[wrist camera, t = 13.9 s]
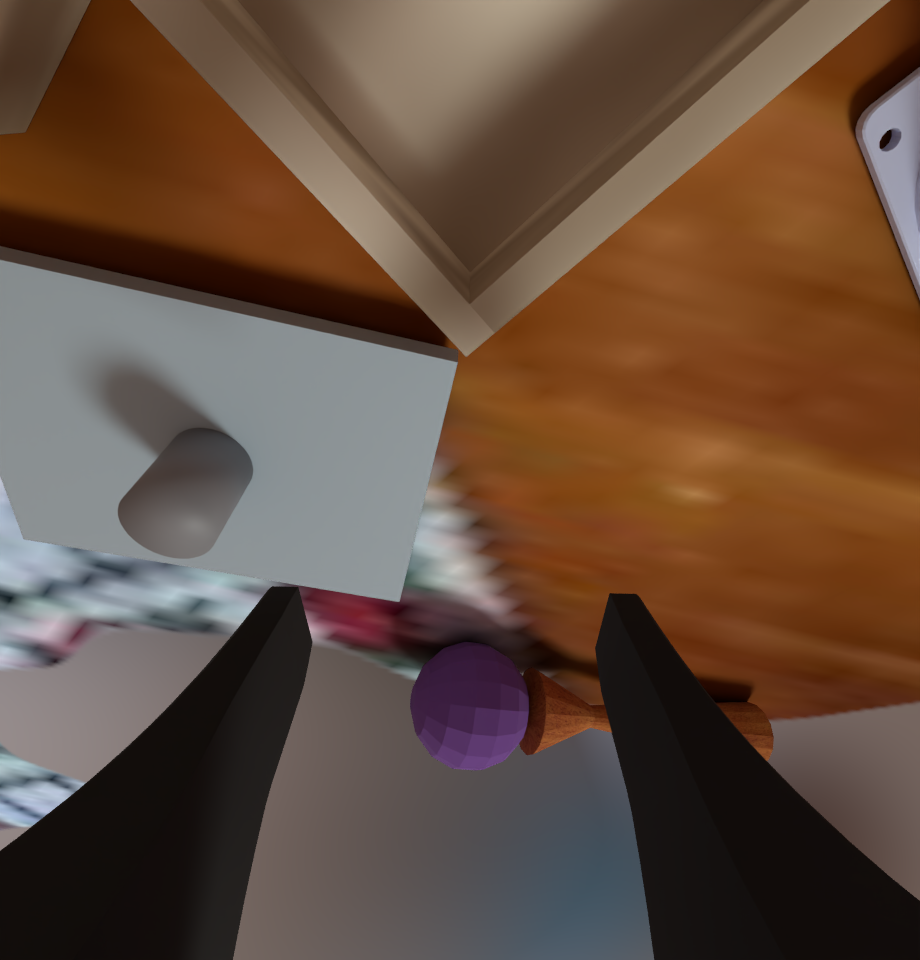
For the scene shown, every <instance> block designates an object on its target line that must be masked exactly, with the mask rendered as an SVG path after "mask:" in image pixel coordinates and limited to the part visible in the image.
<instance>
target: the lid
mask: <svg viewBox="0 0 920 960" xmlns="http://www.w3.org/2000/svg"><path fill="white" fill-rule="evenodd" d="M457 363H458V350H455V349H451V348H447V347H442V346H438V345H433V344H429V343H425V342H420V341H416V340H411V339H407V338H403V337H398V336H394V335H389V334H385V333H381V332H376V331H372V330H367V329H363V328H359V327H354V326H350V325H345V324H341V323H337V322H332V321H328V320H323V319H319V318H315V317H310V316H306V315H301V314H297V313H293V312H288V311H284V310H279V309H275V308H271V307H266V306H262V305H257V304H253V303H249V302H244V301H240V300H235V299H231V298H227V297H222V296H218V295H213V294H209V293H205V292H200V291H196V290H191V289H187V288H182V287H178V286H174V285H169V284H165V283H160V282H156V281H152V280H147V279H143V278H138V277H134V276H130V275H125V274H121V273H116V272H112V271H108V270H103V269H99V268H94V267H90V266H86V265H81V264H77V263H72V262H68V261H64V260H59V259H55V258H50V257H46V256H42V255H37V254H33V253H28V252H24V251H20V250H15V249H11V248H6V247H2V246H0V476H1V479H2V482H3V484H4V487H5V490H6V493H7V495H8V498H9V501H10V503H11V506H12V509H13V512H14V514H15V517H16V520H17V522H18V525H19V528H20V531H21V533H22V536H23V539H25V540H31V541H37V542H43V543H49V544H55V545H61V546H67V547H73V548H79V549H85V550H91V551H97V552H103V553H109V554H115V555H121V556H127V557H133V558H139V559H145V560H151V561H157V562H163V563H169V564H175V565H181V566H187V567H193V568H199V569H205V570H211V571H217V572H223V573H229V574H235V575H241V576H247V577H253V578H259V579H265V580H271V581H277V582H283V583H289V584H295V585H301V586H307V587H313V588H319V589H325V590H331V591H337V592H343V593H349V594H355V595H361V596H367V597H373V598H379V599H385V600H391V601H397V602H399V601H400V597H401V593H402V589H403V585H404V581H405V577H406V573H407V568H408V564H409V560H410V556H411V552H412V548H413V544H414V540H415V536H416V531H417V527H418V523H419V519H420V515H421V511H422V507H423V503H424V499H425V494H426V490H427V486H428V482H429V478H430V474H431V470H432V466H433V462H434V457H435V453H436V449H437V445H438V441H439V437H440V433H441V429H442V424H443V420H444V416H445V412H446V408H447V404H448V400H449V396H450V392H451V387H452V383H453V379H454V375H455V371H456V367H457Z"/></svg>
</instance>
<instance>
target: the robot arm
mask: <svg viewBox="0 0 920 960" xmlns="http://www.w3.org/2000/svg"><path fill="white" fill-rule="evenodd" d="M888 130H891V131H892V137H891V139H890V142H889V143H888V144H887V145H886V146H885V147H884V148H882V149H880V148H879V142H880V140H881V138H882V136H883V135H884V134H885V133H886V132H887V131H888ZM855 131H856V138H857V141H858V143H859V146H860V148H861V151H862V153H863V156H864V158H865V161H866V164H867V166H868V169H869V171H870V174H871V176H872V179H873V182H874V184H875V187H876V189H877V192H878V194H879V197H880V199H881V202H882V205H883V207H884V210H885V212H886V215H887V217H888V220H889V222H890V225H891V228H892V230H893V233H894V235H895V238H896V240H897V243H898V246H899V248H900V251H901V253H902V256H903V258H904V261H905V263H906V266H907V269H908V271H909V274H910V276H911V279H912V281H913V284H914V287H915V289H916V292H917V294H918V297H919V299H920V67H919V68H917V69H916V70H915V71H914V72H912V73H911V74H910V75H908V76H907V77H906V78H905V79H903V80H902V81H901V82H899V83H898V84H897V85H896V86H894V87H893V88H892V89H890V90H889V91H888V92H886V93H885V94H884V95H883V96H881V97H880V98H879V99H877V100H876V101H875V102H874V103H872V104H871V105H870V106H869V107H868V108H867V109H866V110H865V111H864V112H863V113H862V115H861V116H860V118H859V120H858V122H857V126H856V130H855ZM311 647H312V638H311V634H310V631H309V627H308V623H307V619H306V615H305V611H304V607H303V604H302V600H301V596H300V592H299V588H298V587H274V586H272V587H271V588H270V589H269V590H268V591H267V592H266V593H265V595H264V596H263V597H262V599H261V600H260V601H259V602H258V604H257V605H256V606H255V608H254V609H253V610H252V611H251V613H250V614H249V615H248V616H247V618H246V619H245V620H244V621H243V623H242V624H241V625H240V626H239V628H238V629H237V630H236V631H235V632H234V634H233V635H232V636H231V637H230V639H229V640H228V641H227V642H226V643H225V645H224V646H223V647H222V648H221V649H220V650H219V652H218V653H217V654H216V655H215V656H214V657H213V659H212V660H211V661H210V662H209V663H208V664H207V666H206V667H205V668H204V669H203V670H202V671H201V672H200V673H199V675H198V676H197V677H196V678H195V679H194V680H193V681H192V682H191V683H190V684H189V685H188V686H187V687H186V689H185V690H184V691H183V692H182V693H181V694H180V695H179V696H178V697H177V698H176V699H175V700H174V702H173V703H172V704H171V705H170V706H169V707H168V708H167V709H166V710H165V711H164V712H163V713H162V714H161V715H160V716H159V717H158V718H157V719H156V720H155V721H154V722H153V723H152V724H151V725H150V726H149V727H148V728H147V729H146V730H145V731H143V732H142V733H141V734H140V735H139V736H138V737H137V738H136V739H135V740H134V741H133V742H132V743H131V744H130V745H129V746H128V747H126V749H124V750H123V751H122V752H121V753H120V754H119V755H118V756H116V757H115V758H114V759H113V760H112V761H111V762H110V763H109V764H107V765H106V766H105V767H104V768H103V769H102V770H101V771H100V772H99V773H97V774H96V775H95V776H94V777H93V778H92V779H90V780H89V781H88V782H87V783H86V784H84V785H83V786H82V787H81V788H80V789H79V790H77V791H76V792H75V793H74V794H72V795H71V796H70V797H69V798H68V799H66V800H65V801H64V802H62V803H61V804H60V805H59V806H57V807H56V808H55V809H54V810H52V811H51V812H50V813H48V814H47V815H46V816H45V817H43V818H42V819H41V820H40V821H38V822H37V823H36V824H35V825H33V826H32V827H31V828H29V829H28V830H27V831H26V832H25V833H23V834H22V835H21V836H19V837H18V838H17V839H15V840H14V841H13V842H11V843H10V844H9V845H7V846H6V847H5V848H3V849H2V850H1V851H0V960H233V956H234V951H235V945H236V940H237V934H238V930H239V925H240V920H241V914H242V910H243V904H244V899H245V895H246V890H247V885H248V881H249V876H250V872H251V867H252V862H253V858H254V853H255V848H256V844H257V840H258V836H259V831H260V827H261V822H262V818H263V814H264V810H265V805H266V802H267V798H268V794H269V791H270V788H271V784H272V781H273V778H274V775H275V772H276V769H277V766H278V763H279V760H280V757H281V754H282V751H283V748H284V744H285V741H286V738H287V735H288V732H289V729H290V726H291V723H292V720H293V717H294V714H295V711H296V708H297V705H298V702H299V699H300V695H301V692H302V689H303V686H304V682H305V677H306V672H307V668H308V663H309V657H310V652H311ZM595 650H596V657H597V665H598V672H599V679H600V686H601V692H602V696H603V700H604V704H605V708H606V712H607V716H608V720H609V724H610V728H611V731H612V735H613V739H614V743H615V747H616V750H617V754H618V758H619V762H620V766H621V770H622V773H623V777H624V781H625V785H626V789H627V793H628V798H629V802H630V806H631V811H632V816H633V822H634V828H635V834H636V840H637V846H638V852H639V858H640V864H641V870H642V877H643V884H644V890H645V896H646V903H647V909H648V917H649V924H650V932H651V939H652V946H653V953H654V960H920V901H919V900H918V899H917V898H915V897H914V896H913V895H912V894H910V893H909V892H908V891H907V890H905V889H904V888H903V887H902V886H900V885H899V884H898V883H897V882H895V881H894V880H893V879H892V878H891V877H890V876H888V875H887V874H886V873H885V872H884V871H883V870H881V869H880V868H879V867H878V866H877V865H876V864H875V863H873V862H872V861H871V860H870V859H869V858H868V857H867V856H865V855H864V854H863V853H862V852H861V851H860V850H858V849H857V848H856V847H855V846H854V845H852V843H850V842H849V841H848V840H847V839H846V838H845V837H844V836H843V835H842V834H841V833H840V832H839V831H838V830H837V829H836V828H835V827H833V826H832V825H831V824H830V823H829V822H828V821H827V820H826V819H825V818H824V817H823V816H822V815H821V814H820V813H818V812H817V811H816V810H815V809H814V808H813V807H812V806H811V805H810V804H809V803H808V802H807V801H806V800H805V799H804V798H803V797H801V796H800V795H799V794H798V793H797V792H796V791H795V790H794V789H793V788H792V787H791V786H790V785H789V784H788V783H787V781H786V780H784V778H782V776H781V775H780V774H779V773H778V772H777V771H776V770H775V769H774V768H773V767H772V766H771V765H770V764H769V763H768V762H767V761H766V760H765V759H764V758H763V756H762V755H761V754H760V753H759V752H758V751H757V750H756V749H755V748H754V747H753V746H752V745H751V744H750V742H749V741H748V740H747V739H746V738H745V737H744V736H743V735H742V733H741V732H740V731H739V730H738V729H737V728H736V726H735V725H734V724H733V723H732V722H731V721H730V719H729V718H728V717H727V716H726V715H725V713H724V712H723V711H722V710H721V709H720V707H719V706H718V705H717V704H716V703H715V701H714V700H713V699H712V698H711V696H710V695H709V694H708V693H707V691H706V690H705V689H704V688H703V686H702V685H701V684H700V682H699V681H698V680H697V678H696V677H695V676H694V674H693V673H692V672H691V670H690V669H689V668H688V666H687V665H686V664H685V663H684V661H683V660H682V658H681V657H680V656H679V654H678V653H677V652H676V650H675V649H674V647H673V646H672V645H671V643H670V642H669V640H668V639H667V637H666V636H665V635H664V633H663V632H662V630H661V629H660V627H659V626H658V624H657V623H656V621H655V620H654V618H653V617H652V615H651V614H650V612H649V611H648V609H647V608H646V606H645V605H644V603H643V602H642V600H641V599H640V597H639V596H638V595H637V594H613V593H610V594H609V598H608V602H607V605H606V609H605V613H604V617H603V621H602V625H601V628H600V632H599V636H598V640H597V644H596V647H595Z"/></svg>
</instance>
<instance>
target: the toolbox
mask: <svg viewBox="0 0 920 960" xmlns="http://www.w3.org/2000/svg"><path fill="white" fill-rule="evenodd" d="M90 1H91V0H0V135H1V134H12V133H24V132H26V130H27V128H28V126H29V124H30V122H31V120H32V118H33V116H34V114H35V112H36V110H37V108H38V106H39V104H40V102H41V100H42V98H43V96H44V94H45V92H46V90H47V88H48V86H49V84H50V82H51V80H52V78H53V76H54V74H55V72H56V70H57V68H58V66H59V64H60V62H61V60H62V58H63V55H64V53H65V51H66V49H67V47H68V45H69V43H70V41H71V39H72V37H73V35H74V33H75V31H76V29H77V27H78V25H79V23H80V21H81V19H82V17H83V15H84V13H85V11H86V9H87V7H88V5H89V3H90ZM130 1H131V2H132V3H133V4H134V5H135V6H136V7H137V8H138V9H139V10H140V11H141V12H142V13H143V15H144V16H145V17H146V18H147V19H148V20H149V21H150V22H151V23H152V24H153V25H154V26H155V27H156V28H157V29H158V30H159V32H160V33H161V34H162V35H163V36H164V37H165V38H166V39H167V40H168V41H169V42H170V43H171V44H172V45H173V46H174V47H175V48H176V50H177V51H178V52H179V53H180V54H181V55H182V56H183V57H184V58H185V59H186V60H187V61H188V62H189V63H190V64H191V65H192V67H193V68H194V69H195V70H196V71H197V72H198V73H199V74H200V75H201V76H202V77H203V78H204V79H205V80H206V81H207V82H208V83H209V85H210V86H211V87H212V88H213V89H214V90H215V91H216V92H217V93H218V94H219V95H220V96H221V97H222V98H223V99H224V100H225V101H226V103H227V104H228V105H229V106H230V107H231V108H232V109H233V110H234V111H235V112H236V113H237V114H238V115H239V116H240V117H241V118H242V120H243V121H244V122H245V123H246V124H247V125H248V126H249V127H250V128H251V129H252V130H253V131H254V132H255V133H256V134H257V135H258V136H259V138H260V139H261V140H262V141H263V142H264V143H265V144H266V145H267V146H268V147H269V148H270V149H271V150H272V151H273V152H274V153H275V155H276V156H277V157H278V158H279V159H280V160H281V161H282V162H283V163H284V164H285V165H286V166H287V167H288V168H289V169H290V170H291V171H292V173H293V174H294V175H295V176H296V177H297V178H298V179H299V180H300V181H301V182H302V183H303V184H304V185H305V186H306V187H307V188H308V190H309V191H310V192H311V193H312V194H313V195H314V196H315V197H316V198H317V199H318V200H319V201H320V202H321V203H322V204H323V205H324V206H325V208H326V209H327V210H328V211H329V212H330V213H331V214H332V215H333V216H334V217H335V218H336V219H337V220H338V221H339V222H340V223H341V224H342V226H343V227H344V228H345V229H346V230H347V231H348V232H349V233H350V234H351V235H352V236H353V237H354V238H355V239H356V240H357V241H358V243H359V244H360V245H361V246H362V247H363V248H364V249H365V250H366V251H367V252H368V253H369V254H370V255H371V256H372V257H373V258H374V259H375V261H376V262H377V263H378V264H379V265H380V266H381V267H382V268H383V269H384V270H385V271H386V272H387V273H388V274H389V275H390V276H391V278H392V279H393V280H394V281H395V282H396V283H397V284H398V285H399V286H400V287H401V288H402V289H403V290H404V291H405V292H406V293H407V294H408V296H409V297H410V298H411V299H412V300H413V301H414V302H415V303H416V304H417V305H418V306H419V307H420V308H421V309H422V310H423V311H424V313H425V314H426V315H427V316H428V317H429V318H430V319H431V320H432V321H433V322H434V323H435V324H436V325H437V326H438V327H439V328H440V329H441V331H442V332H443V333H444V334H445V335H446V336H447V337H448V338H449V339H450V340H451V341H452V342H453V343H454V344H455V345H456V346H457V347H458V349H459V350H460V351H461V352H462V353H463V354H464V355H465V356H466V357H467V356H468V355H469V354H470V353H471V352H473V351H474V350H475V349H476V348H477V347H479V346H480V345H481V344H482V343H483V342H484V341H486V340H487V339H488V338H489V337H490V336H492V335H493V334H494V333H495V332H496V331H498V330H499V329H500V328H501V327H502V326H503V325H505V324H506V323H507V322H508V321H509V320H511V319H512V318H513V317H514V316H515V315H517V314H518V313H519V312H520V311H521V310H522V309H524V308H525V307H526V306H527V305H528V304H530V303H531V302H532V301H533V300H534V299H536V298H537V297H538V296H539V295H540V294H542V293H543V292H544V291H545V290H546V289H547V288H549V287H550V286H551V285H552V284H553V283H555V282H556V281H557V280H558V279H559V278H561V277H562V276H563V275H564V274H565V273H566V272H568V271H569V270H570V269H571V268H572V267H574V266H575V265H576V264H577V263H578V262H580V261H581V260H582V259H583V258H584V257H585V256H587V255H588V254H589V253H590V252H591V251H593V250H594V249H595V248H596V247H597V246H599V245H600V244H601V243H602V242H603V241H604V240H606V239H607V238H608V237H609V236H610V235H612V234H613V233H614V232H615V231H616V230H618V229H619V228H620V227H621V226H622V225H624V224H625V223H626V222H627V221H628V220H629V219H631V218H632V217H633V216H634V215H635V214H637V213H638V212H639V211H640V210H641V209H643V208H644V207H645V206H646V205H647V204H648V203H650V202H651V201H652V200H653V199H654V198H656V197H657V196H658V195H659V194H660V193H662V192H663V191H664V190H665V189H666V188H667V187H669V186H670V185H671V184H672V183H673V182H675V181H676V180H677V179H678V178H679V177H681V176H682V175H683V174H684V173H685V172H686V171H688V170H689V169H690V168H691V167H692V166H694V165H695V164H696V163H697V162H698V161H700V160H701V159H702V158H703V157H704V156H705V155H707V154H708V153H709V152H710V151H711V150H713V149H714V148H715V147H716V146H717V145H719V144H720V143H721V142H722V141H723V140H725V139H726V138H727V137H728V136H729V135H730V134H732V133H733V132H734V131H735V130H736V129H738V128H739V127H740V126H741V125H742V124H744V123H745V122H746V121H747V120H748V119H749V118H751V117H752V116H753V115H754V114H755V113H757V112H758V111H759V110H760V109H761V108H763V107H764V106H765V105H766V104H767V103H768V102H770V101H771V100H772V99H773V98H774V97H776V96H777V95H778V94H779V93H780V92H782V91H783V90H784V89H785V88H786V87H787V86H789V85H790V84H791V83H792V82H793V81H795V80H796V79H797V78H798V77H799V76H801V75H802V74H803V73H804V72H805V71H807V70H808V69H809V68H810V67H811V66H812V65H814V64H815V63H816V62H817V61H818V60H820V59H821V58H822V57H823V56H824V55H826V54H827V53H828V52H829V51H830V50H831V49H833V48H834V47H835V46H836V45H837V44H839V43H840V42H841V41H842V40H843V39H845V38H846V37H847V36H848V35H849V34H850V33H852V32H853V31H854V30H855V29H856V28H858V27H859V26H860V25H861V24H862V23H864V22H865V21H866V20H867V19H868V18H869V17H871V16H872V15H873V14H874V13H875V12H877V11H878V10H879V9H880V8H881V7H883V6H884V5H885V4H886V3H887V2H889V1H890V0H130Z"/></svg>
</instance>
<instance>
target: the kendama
mask: <svg viewBox="0 0 920 960" xmlns="http://www.w3.org/2000/svg"><path fill="white" fill-rule="evenodd" d="M716 704H717V705H718V706H719V707H720V709H721V710H722V711H723V712H724V713H725V715H726V716H727V717H728V718H729V719H730V721H731V722H732V723H733V724H734V725H735V726H736V728H737V729H738V730H739V731H740V732H741V733H742V735H743V736H744V737H745V738H746V739H747V740H748V741H749V742H750V744H751V745H752V746H753V747H754V748H755V749H756V750H757V751H758V752H759V753H760V754H761V755H762V756H763V758H764V759H765V760H766V761H767V760H768V759H769V757H770V755H771V753H772V750H773V733H772V729H771V724H770V722H769V720H768V719H767V717H766V715H765V713H764V712H763V711H762V710H761V709H760V708H759V707H758V706H757V705H754V704H752V703H749V702H725V703H716ZM410 708H411V714H412V718H413V723H414V728H415V732H416V734H417V736H418V737H419V739H420V740H421V742H422V743H423V745H424V746H425V747H426V749H427V750H428V752H429V753H430V755H431V756H432V757H434V758H435V759H437V760H439V761H441V762H442V763H444V764H446V765H447V766H449V767H451V768H452V769H465V770H483V769H485V768H488V767H490V766H492V765H495V764H497V763H500V762H502V761H504V760H505V759H506V758H507V757H508V756H509V754H510V753H511V752H512V751H513V750H514V748H516V746H517V745H518V744H520V747H521V749H522V750H523V752H524V753H525V754H526V755H530V754H535V753H537V752H539V751H541V750H543V749H545V748H547V747H550V746H552V745H554V744H556V743H558V742H560V741H562V740H564V739H566V738H569V737H571V736H573V735H575V734H578V733H580V732H582V731H584V730H586V729H588V728H594V729H599V730H603V731H607V732H612V731H611V728H610V724H609V720H608V716H607V712H606V708H605V705H589V704H587V703H586V702H584V701H583V700H581V699H580V698H578V697H577V696H575V695H574V694H572V693H571V692H569V691H568V690H566V689H565V688H563V687H562V686H560V685H559V684H557V683H556V682H554V681H553V680H551V679H550V678H548V677H546V676H545V675H543V674H542V673H540V672H539V671H537V670H536V669H534V668H532V667H531V668H529V669H527V670H526V671H525V672H524V674H523V676H522V675H521V673H520V672H519V670H518V669H517V668H516V666H515V665H514V663H513V662H512V660H511V659H509V658H508V657H506V656H505V655H503V654H501V653H500V652H498V651H496V650H495V649H493V648H491V647H490V646H488V645H486V644H479V643H472V642H462V643H459V644H456V645H452V646H449V647H446V648H443V649H442V650H441V651H440V652H439V653H438V654H436V655H435V656H434V657H433V658H432V659H430V660H429V661H428V662H427V663H426V664H425V665H424V666H423V667H422V670H421V672H420V674H419V676H418V678H417V680H416V682H415V684H414V686H413V689H412V693H411V701H410Z"/></svg>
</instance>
